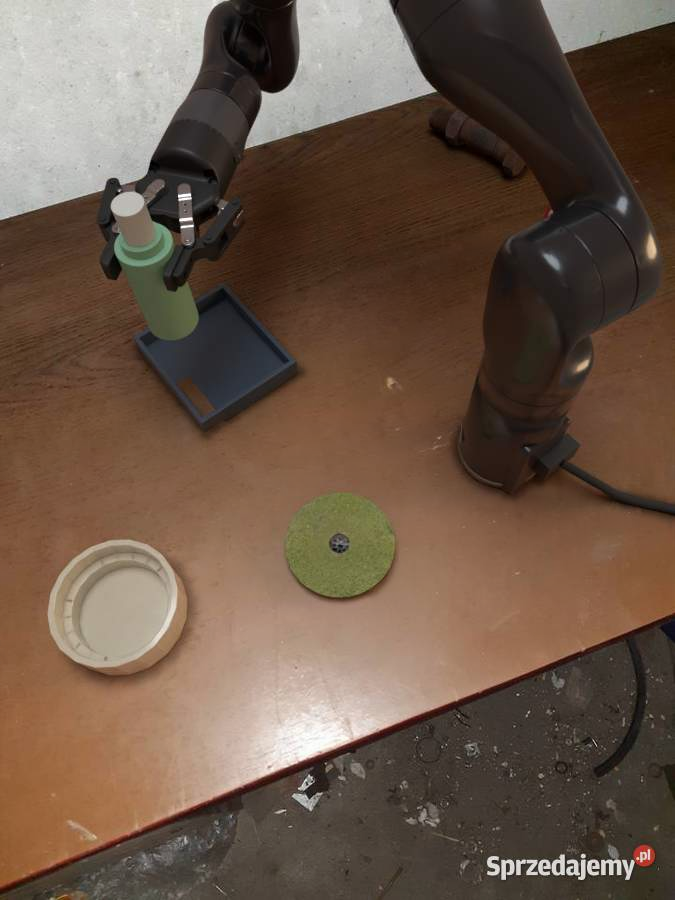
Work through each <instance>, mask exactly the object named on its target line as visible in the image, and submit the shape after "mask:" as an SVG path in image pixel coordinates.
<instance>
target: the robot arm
mask: <svg viewBox="0 0 675 900" xmlns="http://www.w3.org/2000/svg"><path fill="white" fill-rule="evenodd" d="M297 1H298V0H224V1H221V2H219V3H218V4H215V6H214V7H213V8H212V9H211V11H210V12H209V14H208V16H207V19H206V21H205V26H204V32H203V41H202V42H203V43H202V58H201V63H200V67H199V71H198V74H197V76H196V79H195V80H194V82H193V84H192V85H191V88H190V89H189V91H188V93H187V95H186V97H185V99H184V100H183V102H182V103H181V104H180V105H179V106H178V108H177V109H176V111H175V113H174V114H173V116H172V118H171V120H170V122H169V124H168V126H167V127H166V129H165V130H164V133H163V135H162V136H161V138H160V140H159V142H158V144H157V146H156V148H155V150H154V152H153V153H152V156H151V157H150V161H149V165H148V169H147V172H146V173H145V175H144V176H143V177H141V178H140V179H139V180H138V181H137V182H136V184H121V183H120V179H118V178H117V177H109V178H108V179H107V180H106V182H105V186H104V188H103V189H104V190H103V193H102V197H101V201H100V205H99V208H98V212H97V216H96V224H97V226H98V228H99V229H100V232H101V234H102V236H103V238H104V241H105V242H106V245H105V247H104V249H103V250H102V252H101V254H100V255H99V261H98V262H99V265H100V266H101V269H102V272H103V273H104V276H105V277H106V279H107V280H110V281H117V280H118V279H119V276H120V275H121V272H123V270H122V267H121V265H120V263H119V261H118V259H117V257H116V254H115V251H114V245H115V241H116V239H117V237H118V236H119V233H120V229H119V226H118V224H117V222H116V219H115V217H114V215H113V212H112V210H111V203H112V201H113V199H114V198H115V197H116V196H118V195H119V194H122V193H125V192H136V193H138V194H140V195H141V196H142V197H143V198H144V201H145V203H146V206H147V209H148V212H149V214H150V217H151V220H152V221H153V222H155V223H158V224H161V225H163V226H164V227H166V228H167V229H168V230H169V231H171V232H173V233H175V234H178V235H180V242H181V245H178V244H175V246H176V247H175V249H174V252H173V254H172V256H171V258H170V260H169V262H168V264H167V267H166V269H165V271H164V273H163V281H164V284H165V286H166V289H167V290H168V291H173V292H176V291H177V289H178V287H182V286H183V285H184V284H185V283H186V281H187V282H188V279H189V277H190V274H191V272H192V270H193V268H194V266H195V264H197V263H198V262H199V261H200V260H204V259H207V260H208V261H209V262H212V263H215V262H218V261H219V260H220V259H221V257H222V256H223V254H224V253H225V252H226V250H227V249H228V248H229V246H230V245H231V244H232V243H233V241H234V240H235V238H236V237H237V236H238V235H239V233H240V232H241V230H242V229H243V227H244V226H245V225H246V222H247V221H246V217H245V214H246V213H245V209H244V205H243V200H242V199H240V198H238V197H234V198H231V199H230V200H229V201H228V200H225V199H224V197H225V195H226V193H227V190H228V188H229V186H230V184H231V182H232V179H233V177H234V175H235V173H236V170H237V168H238V166H239V165H240V164H241V162H242V158H243V154H244V152H245V148H246V144H247V140H248V137H249V136H250V133H251V131H252V128H253V127H254V124H255V122H256V120H257V118H258V116H259V113H260V110H261V107H262V103H263V94H262V92H263V93H267V94H272V95H273V94H277V93H281V92H283V91H284V90H286V89H287V88H288V87H289V86H290V85H291V84H292V82H293V80H294V78H295V77H296V74H297V71H298V68H299V63H300V55H301V49H300V48H301V47H300V46H301V43H300V30H299V23H298V22H299V21H298V8H297V7H298V4H297ZM387 1H388V3H389V6H390V9H391V11H392V14H393V15H394V17H395V19H396V22H397V24H398V26H399V29H400V31H401V33H402V35H403V37H404V39H405V41H406V43H407V45H408V48H409V51H410V53H411V55H412V57H413V58H414V61H415V64H416V66H417V67H418V69H419V72H420V73H421V74H422V76H423V77H424V79H425V81H426V82H427V83H428V84H429V85H430V86H431V87H432V88H433V89H434V90H435V91H436V92H437V93H438V94H439V95H440V96H442V97H443V98H444V99H445V100H446V101H448V102H449V103H450V104H451V105H453V106H454V107H455V108H457V110H461V111H462V112H463V113H465V114H466V115H467V116H469V117H470V118H472V119H473V120H474V121H476V122H477V123H479V124H480V125H482V126H483V127H485V128H486V129H488V130H489V131H491V132H492V133H493V134H495V135H496V136H497V137H499V138H500V139H501V140H503V141H504V142H505V143H507V144H508V145H509V146H510V147H511V148H512V149H513V150H514V151H515V152H516V153H517V154H518V155H519V156H520V157H521V158H522V159H523V161H524V162H525V163H526V166H527V167H528V169H529V170H530V172H531V173H532V175H533V176H534V178H535V179H536V181H537V183H538V185H539V186H540V188H541V191H542V192H543V194H544V196H545V197H546V200H547V203H548V202H549V204H550V206H551V208H552V211H553V213H554V214H552V215H550V216H548V217H546V218H544V219H543V218H542V219H540V220H539V221H538V220H537V222H534V223H532V224H531V225H529V226H526V227H524V228H522V229H521V230H518V231H516V232H514V233H513V234H512V235H510V236H509V237H508V238H506V239H505V240H504V241H503V242H502V244H501V245H500V247H499V249H498V250H497V252H496V255H495V257H494V259H493V262H492V265H491V270H490V275H489V279H488V280H489V281H488V287H487V293H486V297H485V304H484V309H483V310H484V311H483V315H482V323H481V324H482V325H481V327H482V330H481V331H482V340H483V345H484V349H483V353H482V356H481V360H480V363H479V367H478V370H477V374H476V377H475V381H474V384H473V388H472V390H471V395H470V399H469V402H468V406H467V409H466V413H465V417H464V419H462V421H461V425H460V433H459V435H458V440H457V454H458V458H459V461H460V463H461V465H462V466H463V468H464V469H465V470H466V472H467V473H468V474H469V475H470V476H471V477H472V478H473V479H475V480H476V481H478V482H480V483H482V484H484V485H487V486H489V487H494V488H500V489H502V490H503V491H505V493H506V494H508V495H511V494H513V493H514V492H515V491H516V490H517V489H519V488H520V487H521V486H523V485H524V484H525V483H527V482H529V481H530V480H531V479H532V478H533V477H535V475H537V476H539V478H540V479H541V480H542V481H545V480H547V479H548V478H549V477H550V476H551V475H553V474H554V473H555V472H557V470H559V469H562V470H564V471H565V472H567V473H569V474H570V475H572V476H574V477H575V478H578V479H579V480H581V481H582V482H584V483H586V484H588V485H589V486H591V487H593V488H595V489H596V490H598V491H600V492H602V493H603V494H605V495H606V496H608V497H610V498H612V499H614V500H617V501H619V502H622V503H625V504H627V505H631V506H635V507H638V508H644V509H649V510H653V511H659V512H664V513H667V514H668V513H669V514H673V515H675V504H674V503H669V502H664V501H659V500H653V499H648V498H644V497H640V496H635V495H632V494H629V493H626V492H623V491H621V490H619V489H616V488H614V487H613V486H611V485H610V484H608V483H607V482H604V481H603V480H601V479H599V478H597V477H596V476H594V475H592V474H591V473H588V472H587V471H585V470H584V469H582V468H581V467H579V466H577V465H575V464H573V463H572V462H570V460H571V459H572V458H574V456H575V455H576V454H577V452H578V450H580V449H579V448H580V447H581V444H580V443H579V442H578V441H577V440H576V439H575V438H573V436H572V435H570V433H568V432H567V431H568V429H569V428H570V426H571V425H572V420H571V419H570V418H569V417H568V414H569V412H570V410H571V408H572V406H573V405H574V403H575V401H576V399H577V397H578V395H579V393H580V392H581V390H582V388H583V386H584V384H585V383H586V381H587V379H588V377H589V375H590V373H591V371H592V368H593V366H594V359H595V349H594V348H595V347H594V343H593V341H592V338H591V335H593V334H594V333H597V332H598V331H600V330H603V329H604V328H606V327H608V326H609V325H611V324H613V323H614V322H616V321H618V320H620V319H621V318H623V317H625V316H627V315H629V314H631V313H632V312H635V311H636V310H638V309H640V308H641V307H643V306H644V305H645V304H647V303H648V302H650V301H651V300H652V299H653V297H654V296H655V295H656V294H657V292H658V290H659V288H660V286H661V283H662V278H663V271H664V268H663V267H664V266H663V265H664V264H663V263H664V262H663V255H662V249H661V245H660V242H659V238H658V236H657V233H656V230H655V227H654V225H653V223H652V220H651V218H650V215H649V214H648V212H647V210H646V208H645V206H644V204H643V202H642V200H641V198H640V196H639V195H638V193H637V191H636V189H635V188H634V186H633V184H632V182H631V180H630V178H629V177H628V175H627V174H626V172H625V170H624V168H623V166H622V165H621V163H620V161H619V159H618V157H617V156H616V154H615V152H614V151H613V149H612V147H611V145H610V143H609V141H608V140H607V138H606V136H605V134H604V132H603V131H602V129H601V127H600V125H599V124H598V122H597V119H596V118H595V116H594V115H593V112H592V110H591V108H590V107H589V105H588V103H587V100H586V98H585V97H584V95H583V93H582V90H581V88H580V85H579V83H578V82H577V79H576V77H575V75H574V73H573V71H572V68H571V66H570V65H569V62H568V60H567V58H566V55H565V53H564V51H563V49H562V47H561V45H560V42H559V40H558V38H557V36H556V34H555V31H554V29H553V27H552V25H551V22H550V20H549V18H548V15H547V13H546V10H545V8H544V5H543V2H542V0H387ZM216 216H217V217H216ZM215 217H216V218H215ZM213 218H215V220H214V221H213V222H212V224H211V225H210V226H209V227H208V229H207V230H206V231H205V233H204V234H203V235H202V237H201V230H200V229H201V228H200V226H202V225H203V224H206V223H207V222H208V221H210V220H212V219H213Z"/></svg>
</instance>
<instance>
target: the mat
mask: <svg viewBox="0 0 675 900" xmlns="http://www.w3.org/2000/svg"><path fill="white" fill-rule="evenodd" d="M286 531H287V532H286V534H285V541H284V546H285V547H284V549H285V557H286V560H287V564H288V565H289V568H290V570H291V571H292V573H293V575H294V576H295V577H296V579H297V580H298V581H299V582H300V583H301V584H302V585H303V586H305V587H306V588H308V589H309V590H311V591H312V592H315V593H316V594H319V595H322V596H325V597H329V598H330V597H331V598H350V597H354V596H357V595H360V594H363V593H365V592H367V591H368V590H371V589H372V588H373V587H374V586H375V585H377V584H379V582H381V580H382V579H383V578H384V577H385V576H386V575H387V572H388V571H389V569H390V568H391V565H392V563H393V560H394V556H395V551H396V540H395V539H396V538H395V533H394V530H393V527H392V524H391V522H390V520H389V518H388V517H387V515H386V514H385V513H384V512H383V510H381V508H380V507H379V506H378V505H377V504H375V503H374V502H373V501H371V500H369V499H368V498H365V497H363V496H361V495H358V494H354V493H349V492H332V493H331V492H330V493H327V494H322V495H320V496H317V497H314V499H312V500H310V501H309V502H307V503H306V504H304V505H303V506H302V507H300V509H299V510H298V511H297V512H296V514H295V515H294V516H293V518H292V520H291V521H290V523H289V526H288V529H287V530H286Z"/></svg>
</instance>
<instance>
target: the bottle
mask: <svg viewBox="0 0 675 900" xmlns="http://www.w3.org/2000/svg"><path fill="white" fill-rule="evenodd" d="M111 210H112V212H113V215H114V217H115V219H116V222H117V224H118V226H119V229H120V233H119V236H118V237H117V239H116V241H115V245H114V251H115V254H116V257H117V259H118V261H119V263H120V265H121V267H122V272H123V275H124V276H125V278H126V281H127V282H128V285H129V287H130V290H131V291H132V294H133V296H134V298H135V300H136V303H137V304H138V307H139V309H140V311H141V313H142V315H143V318H144V320H145V322H146V324H147V326H148V328H149V329H150V331H151V332H152V333H153V334H154V335H155V336H156V337H158V338H160V339H163V340H178V339H181V338H184V337H186V336H187V335H189V334H190V333H191V332H192V331H193V330H194V329H195V328H196V326H197V324H198V320H199V314H198V311H197V308H196V305H195V302H194V300H195V299H194V297H193V293H192V290H191V287H190V284H189V283H188V280H187V281H186V283H185V284H184V285H183V286H182V287H178V289H177V291H176V292H173V291H168V290H167V289H166V286H165V284H164V281H163V273H164V271H165V269H166V267H167V264H168V262H169V260H170V258H171V256H172V254H173V252H174V249H175V247H176V244H175V241H174V238H173V236H172V235H173V234H172V233H171V232H170V230H168V229H167V228H166V227H164V226H163V225H161V224H158V223H155V222H153V221H152V220H151V217H150V214H149V212H148V209H147V206H146V203H145V201H144V198H143V197H142V196H141V195H140V194H138V193H136V192H125V193H122V194H119V195H118V196H116V197H115V198H114V199H113V201H112V203H111Z"/></svg>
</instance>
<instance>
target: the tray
mask: <svg viewBox="0 0 675 900" xmlns="http://www.w3.org/2000/svg"><path fill="white" fill-rule="evenodd" d="M194 302H195V305H196V308H197V311H198V314H199V320H198V324H197V326H196V328H195V329H194V330H193V331H192V332H191V333H190V334H189V335H187V336H186V337H184V338H181V339H178V340H163V339H160V338H158V337H156V336H155V335H154V334H153V333H152V332H151V331H150V329H149V327H147V328H145V329H143V330H141V331H140V332H139V333H137V334H135V335H134V336H132V341H134V344H135V345H136V348H137V349H138V351H139V352H140V353H141V355H142V356H143V358H145V360H146V362H148V364H149V365H150V366H151V367H152V369H153V370H154V371H155V372H156V374H157V375H158V376H159V377H160V379H161V381H163V382H164V384H165V385H166V387H168V389H170V390H171V392H172V393H173V394H174V395H175V397H176V398H177V399H178V400H179V401H180V403H181V404H182V405H183V407H184V408H185V409H186V411H187V412H188V413H189V414H190V415H191V417H192V418H193V419H194V420H195V422H196V423H197V424H198V425H199V427H200V428H201V430H203V432H204V433H205V432H207V431H208V430H210V429H212V428H213V427H214V426H216V425H217V424H219V423H221V422H223V421H224V422H226V421H228V420H229V419H230V418H233V417H234V416H236V415H237V414H238V413H240V412H242V411H243V410H245V409H246V408H248V407H249V406H251V405H252V404H254V403H255V402H256V401H258V400H259V399H261V398H262V397H264V396H266V395H267V394H269V393H270V392H272V391H273V390H274V389H276V388H278V387H279V386H282V385H283V384H284V383H286V382H287V381H288V380H290V379H292V378H293V377H294V376H296V375H297V374H299V371H298V370H299V369H298V363H297V360H296V359H295V358H294V357H293V356H292V355H291V354H290V352H288V350H287V349H286V348H285V347H284V346H283V345H282V343H280V342H279V341H278V339H276V337H275V336H274V335H273V334H272V333H271V332H270V330H268V328H266V326H265V325H264V324H263V323H262V322H261V321H260V320H259V319H258V317H257V316H255V314H254V313H253V312H252V311H251V310H250V308H248V307H247V306H246V304H244V302H243V301H242V300H241V299H240V298H239V297H238V296H237V295H236V294H235V293H234V292H233V290H232V289H231V287H229V286H228V285H227V284H226V283H225V282H222V283H221V284H219V285H217V286H215V287H214V288H212V289H211V290H209V291H207V292H205V293H203V294H202V295H200V296H199V297H197V298H196V299H194ZM186 378H188V379H190V381H192V383H193V384H194V385H195V386H196V388H197V389H198V390H199V392H200V393H201V394H202V395H203V396H204V397H205V399H206V400H207V401H208V403H209V404H210V405H211V406H212V407H213V408H214V409H213V410H212V411H210V412H208V413H207V414H205V415H204V416H202V414H201V413H200V412H199V411H198V409H197V408H196V407H195V405H194V404H193V403H192V402H191V401H190V399H189V398H188V397H187V396H186V394H185V393H184V392H183V391H182V389H181V388H180V387H179V386H178V385H177V384H179V383H180V382H181V381H183V380H184V379H186Z"/></svg>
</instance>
